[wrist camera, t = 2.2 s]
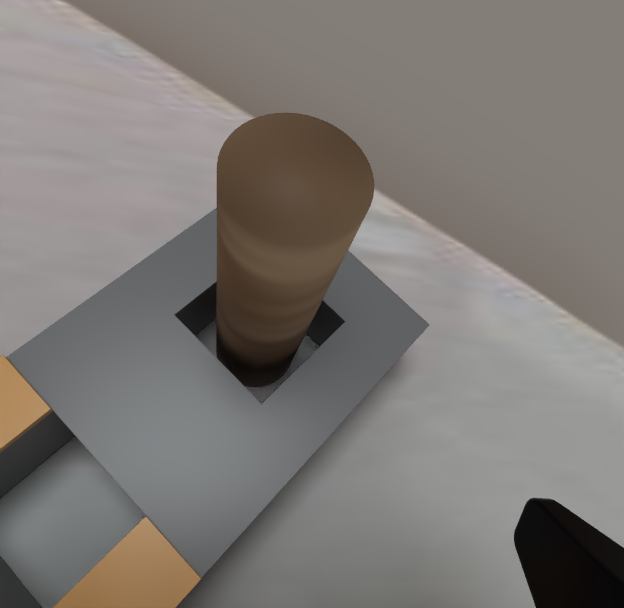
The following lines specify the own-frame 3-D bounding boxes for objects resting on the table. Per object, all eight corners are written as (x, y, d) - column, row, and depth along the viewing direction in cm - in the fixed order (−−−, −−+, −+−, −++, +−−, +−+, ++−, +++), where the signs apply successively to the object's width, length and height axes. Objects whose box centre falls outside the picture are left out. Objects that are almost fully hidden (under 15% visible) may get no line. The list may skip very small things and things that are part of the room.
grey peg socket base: (257, 222, 25) (264, 169, 21) (397, 353, 24) (432, 322, 20) (-142, 525, 17) (-246, 529, 13) (32, 753, 16) (-28, 833, 12)
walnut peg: (308, 350, 23) (404, 183, 11) (254, 402, 21) (299, 274, 10) (256, 300, 23) (295, 90, 12) (199, 347, 22) (182, 162, 10)
